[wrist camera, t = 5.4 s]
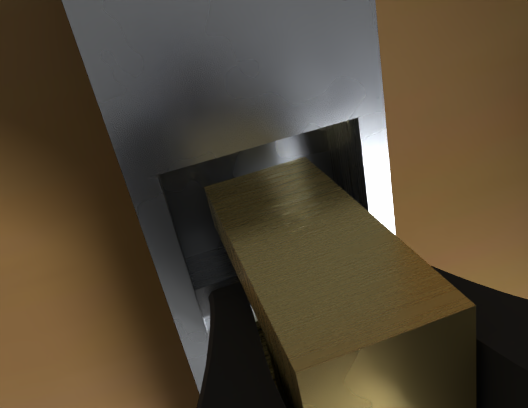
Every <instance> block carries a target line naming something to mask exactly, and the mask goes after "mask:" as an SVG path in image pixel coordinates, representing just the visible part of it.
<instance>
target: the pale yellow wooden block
mask: <svg viewBox="0 0 528 408" xmlns="http://www.w3.org/2000/svg"><path fill="white" fill-rule="evenodd" d="M204 189H205V192H206V196H207V200H208V203H209V207H210V211H211V214H212V218H213V222H214V225H215V228H216V230H217V232H218V234H219V236H220V239H221V241H222V243H223V245H224V247H225V250H226V252H227V254H228V256H229V258H230V260H231V263H232V265H233V267H234V269H235V271H236V274H237V276H238V278H239V280H240V282H241V284H242V287H243V289H244V291H245V293H246V295H247V298H248V300H249V302H250V304H251V306H252V308H253V311H254V313H255V315H256V317H257V319H258V321H256V325H257V329H258V332H259V336H260V340H261V343H262V347H263V350H264V354H265V357H266V361H267V364H268V367H269V369H270V372H271V375H272V378H273V380H274V382H275V385H276V387H277V389H278V391H279V393H280V395H281V398H282V400H283V402H284V404H285V406H286V408H476V305H475V304H474V303H473V302H472V301H470V300H469V299H468V298H467V297H466V296H465V295H463V294H462V293H461V292H460V291H459V290H458V289H457V288H455V287H454V286H453V285H452V284H451V283H450V282H449V281H447V280H446V279H445V278H444V277H443V276H442V275H441V274H439V273H438V272H437V271H436V270H435V269H434V268H432V267H431V266H430V265H429V264H428V263H427V262H426V261H424V260H423V259H422V258H421V257H420V256H419V255H418V254H416V253H415V252H414V251H413V250H412V249H411V248H410V247H408V246H407V245H406V244H405V243H404V242H403V241H401V240H400V239H399V238H398V237H397V236H396V235H395V234H393V233H392V232H391V231H390V230H389V229H388V228H387V227H385V226H384V225H383V224H382V223H381V222H380V221H378V220H377V219H376V218H375V217H374V216H373V215H372V214H370V213H369V212H368V211H367V210H366V209H365V208H364V207H362V206H361V205H360V204H359V203H358V202H357V201H356V200H354V199H353V198H352V197H351V196H350V195H349V194H347V193H346V192H345V191H344V190H343V189H342V188H341V187H339V186H338V185H337V184H336V183H335V182H334V181H333V180H331V179H330V178H329V177H328V176H327V175H326V174H325V173H323V172H322V171H321V170H320V169H319V168H318V167H316V166H315V165H314V164H313V163H312V162H311V161H310V160H308V159H307V158H306V157H303V158H299V159H296V160H292V161H289V162H286V163H282V164H279V165H276V166H272V167H269V168H266V169H262V170H259V171H256V172H252V173H249V174H246V175H242V176H239V177H236V178H232V179H229V180H226V181H222V182H219V183H216V184H212V185H209V186H205V187H204Z"/></svg>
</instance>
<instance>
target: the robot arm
mask: <svg viewBox="0 0 528 408" xmlns="http://www.w3.org/2000/svg"><path fill="white" fill-rule="evenodd" d="M431 267H432V268H434V269H435V270H436V271H437V272H438V273H439V274H441V275H442V276H443V277H444V278H445V279H446V280H447V281H449V282H450V283H451V284H452V285H453V286H454V287H455V288H457V289H458V290H459V291H460V292H461V293H462V294H463V295H465V296H466V297H467V298H468V299H469V300H470V301H472V302H473V303H474V304H475V305H476V408H528V299H524V298H520V297H517V296H514V295H510V294H507V293H504V292H501V291H498V290H495V289H492V288H489V287H486V286H483V285H480V284H477V283H474V282H471V281H469V280H466V279H463V278H461V277H458V276H455V275H453V274H450V273H448V272H445V271H442V270H440V269H438V268H435V267H433V266H431ZM208 299H209V304H210V333H209V342H208V351H207V359H206V366H205V371H204V376H203V381H202V386H201V391H200V396H199V400H198V404H197V408H286V406H285V404H284V402H283V400H282V398H281V395H280V393H279V391H278V389H277V387H276V385H275V382H274V380H273V378H272V375H271V372H270V369H269V367H268V364H267V361H266V357H265V354H264V350H263V347H262V343H261V340H260V336H259V332H258V329H257V325H256V322H255V318H254V315H253V311H252V308H251V304H250V302H249V300H248V298H247V295H246V293H245V291H244V289H243V287H242V285H241V284H240V282H238V283H235V284H232V285H229V286H226V287H223V288H220V289H217V290H214V291H212V292H211V293H210V295H209V297H208Z"/></svg>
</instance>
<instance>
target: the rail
mask: <svg viewBox="0 0 528 408" xmlns="http://www.w3.org/2000/svg"><path fill="white" fill-rule="evenodd" d="M62 3H63V5H64V8H65V11H66V14H67V17H68V20H69V23H70V25H71V28H72V31H73V34H74V37H75V40H76V43H77V45H78V48H79V51H80V54H81V57H82V60H83V63H84V65H85V68H86V71H87V74H88V77H89V80H90V82H91V85H92V88H93V91H94V94H95V97H96V100H97V102H98V105H99V108H100V111H101V114H102V117H103V120H104V122H105V125H106V128H107V131H108V134H109V137H110V140H111V142H112V145H113V148H114V151H115V154H116V157H117V159H118V162H119V165H120V168H121V171H122V174H123V177H124V179H125V182H126V185H127V188H128V191H129V194H130V197H131V199H132V202H133V205H134V208H135V211H136V214H137V217H138V219H139V222H140V225H141V228H142V231H143V234H144V237H145V239H146V242H147V245H148V248H149V251H150V254H151V256H152V259H153V262H154V265H155V268H156V271H157V274H158V276H159V279H160V282H161V285H162V288H163V291H164V294H165V296H166V299H167V302H168V305H169V308H170V311H171V314H172V316H173V319H174V322H175V325H176V328H177V331H178V334H179V336H180V339H181V342H182V345H183V348H184V351H185V353H186V356H187V359H188V362H189V365H190V368H191V371H192V373H193V376H194V379H195V382H196V385H197V388H198V391H199V393H200V391H201V386H202V381H203V376H204V371H205V366H206V359H207V351H208V342H209V333H210V304H209V299H208V297H209V295H210V293H211V292H212V291H214V290H217V289H220V288H223V287H226V286H229V285H232V284H235V283H238V282H240V280H239V278H238V276H237V274H236V271H235V269H234V267H233V265H232V263H231V260H230V258H229V256H228V254H227V252H226V250H225V247H224V245H223V243H222V241H221V239H220V236H219V234H218V232H217V230H216V228H215V225H214V222H213V218H212V214H211V211H210V207H209V203H208V200H207V196H206V192H205V189H204V187H205V186H209V185H212V184H216V183H219V182H222V181H226V180H229V179H232V178H236V177H239V176H242V175H246V174H249V173H252V172H256V171H259V170H262V169H266V168H269V167H272V166H276V165H279V164H282V163H286V162H289V161H292V160H296V159H299V158H303V157H306V158H307V159H308V160H310V161H311V162H312V163H313V164H314V165H315V166H316V167H318V168H319V169H320V170H321V171H322V172H323V173H325V174H326V175H327V176H328V177H329V178H330V179H331V180H333V181H334V182H335V183H336V184H337V185H338V186H339V187H341V188H342V189H343V190H344V191H345V192H346V193H347V194H349V195H350V196H351V197H352V198H353V199H354V200H356V201H357V202H358V203H359V204H360V205H361V206H362V207H364V208H365V209H366V210H367V211H368V212H369V213H370V214H372V215H373V216H374V217H375V218H376V219H377V220H378V221H380V222H381V223H382V224H383V225H384V226H385V227H387V228H388V229H389V230H390V231H391V232H392V233H393V234H395V222H394V211H393V200H392V188H391V177H390V165H389V154H388V142H387V131H386V119H385V108H384V96H383V85H382V73H381V62H380V50H379V39H378V27H377V16H376V4H375V0H62ZM395 235H396V234H395ZM240 284H241V282H240ZM241 285H242V284H241ZM251 308H252V306H251ZM252 311H253V308H252ZM253 315H254V318H255V322H256V321H258V319H257V317H256V315H255V313H254V311H253Z"/></svg>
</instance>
